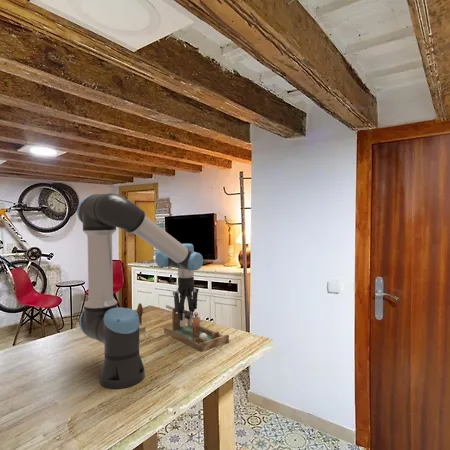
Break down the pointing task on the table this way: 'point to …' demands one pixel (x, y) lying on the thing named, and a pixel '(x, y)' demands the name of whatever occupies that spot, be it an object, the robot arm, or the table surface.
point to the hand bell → (141, 327)
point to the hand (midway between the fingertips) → (186, 325)
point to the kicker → (195, 321)
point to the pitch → (187, 335)
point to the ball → (203, 337)
